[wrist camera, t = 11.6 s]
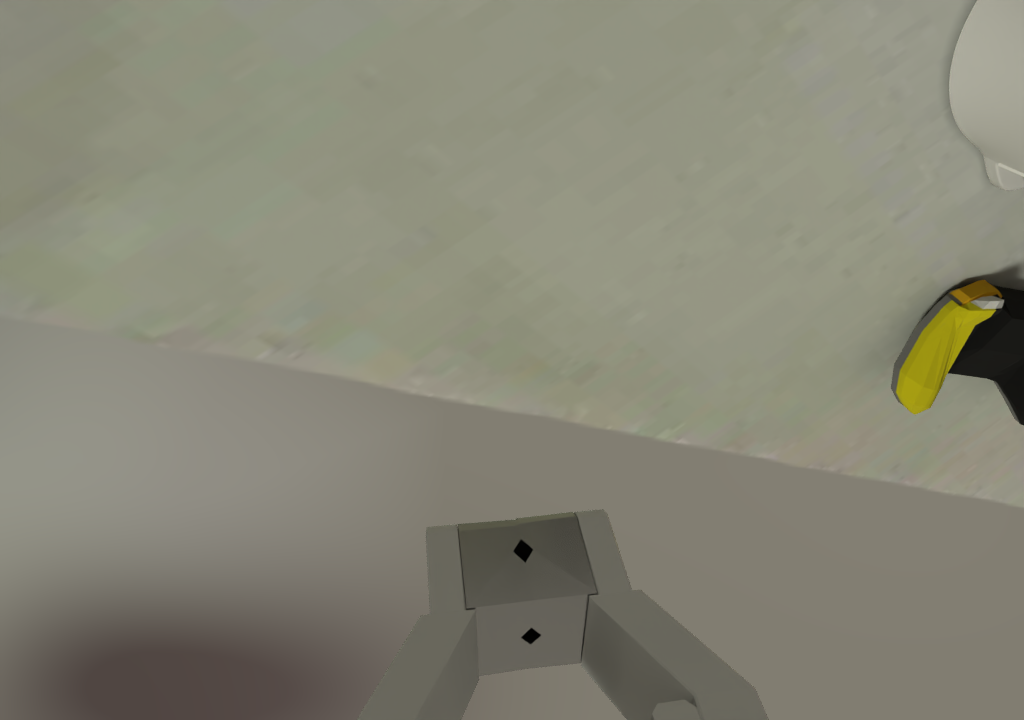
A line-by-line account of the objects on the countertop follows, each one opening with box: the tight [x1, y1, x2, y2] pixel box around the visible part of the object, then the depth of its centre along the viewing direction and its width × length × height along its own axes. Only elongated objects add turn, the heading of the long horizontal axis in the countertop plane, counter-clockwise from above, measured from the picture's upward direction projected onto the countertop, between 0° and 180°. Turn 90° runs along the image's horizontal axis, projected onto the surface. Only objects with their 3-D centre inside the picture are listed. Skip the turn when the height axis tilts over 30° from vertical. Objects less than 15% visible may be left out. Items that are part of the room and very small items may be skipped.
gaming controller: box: [891, 280, 1024, 425], centre depth 54 cm, size 15×6×10 cm
